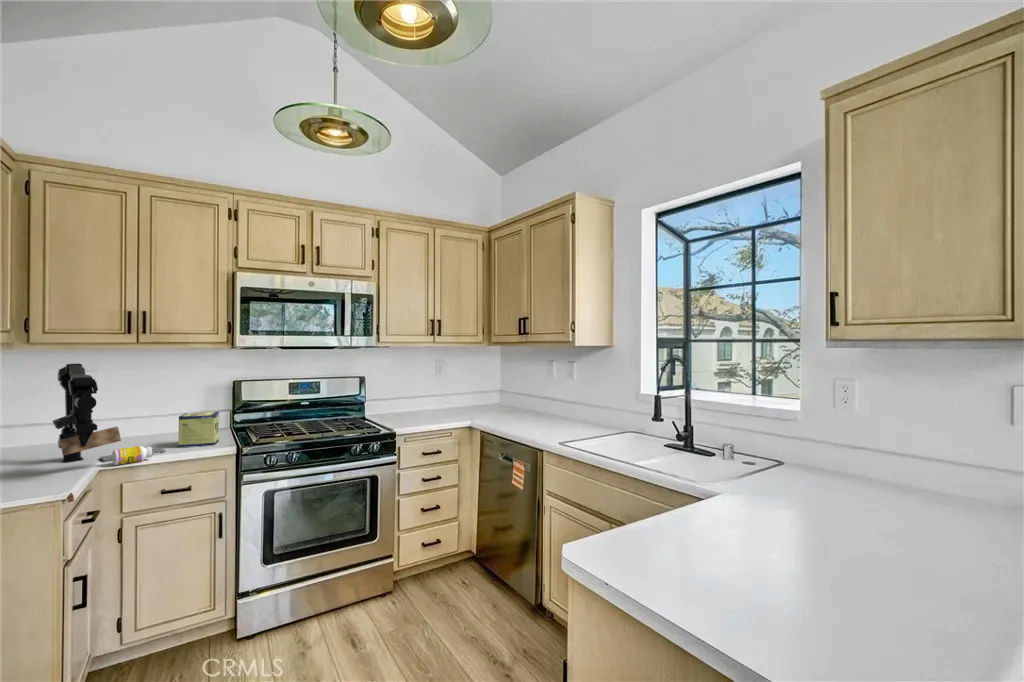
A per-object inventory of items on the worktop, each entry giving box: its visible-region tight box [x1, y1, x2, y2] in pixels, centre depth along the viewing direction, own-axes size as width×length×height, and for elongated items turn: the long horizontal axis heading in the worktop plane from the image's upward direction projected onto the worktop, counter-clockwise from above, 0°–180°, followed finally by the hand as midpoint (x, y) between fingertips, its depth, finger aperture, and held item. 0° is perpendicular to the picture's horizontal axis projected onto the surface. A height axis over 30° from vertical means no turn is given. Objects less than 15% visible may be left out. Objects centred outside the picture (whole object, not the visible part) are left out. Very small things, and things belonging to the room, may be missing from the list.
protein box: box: [177, 411, 220, 448], centre depth 237 cm, size 10×16×16 cm
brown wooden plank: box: [60, 426, 122, 456], centre depth 193 cm, size 18×2×6 cm, turn 142°
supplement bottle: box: [111, 445, 153, 466], centre depth 204 cm, size 7×7×13 cm
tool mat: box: [99, 447, 166, 463], centre depth 215 cm, size 8×22×1 cm, turn 142°
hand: (82, 446), depth 191 cm, fingers closed on brown wooden plank, 2 cm apart
